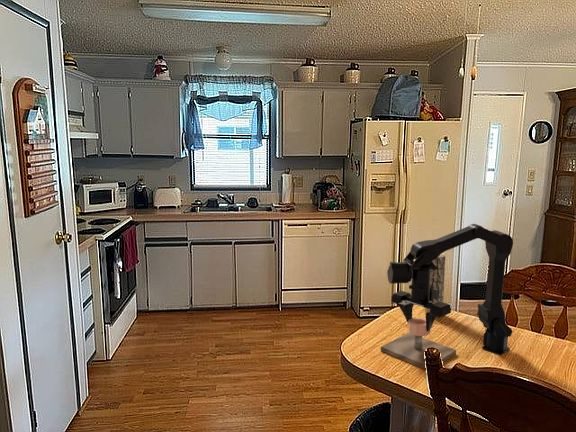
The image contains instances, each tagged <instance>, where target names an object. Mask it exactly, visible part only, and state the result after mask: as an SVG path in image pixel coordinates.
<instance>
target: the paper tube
mask: <svg viewBox="0 0 576 432" xmlns="http://www.w3.org/2000/svg"><path fill="white" fill-rule="evenodd" d="M432 262H433V263H434V265H435V266H436V267H437V268H438V269H431V274H430V285H432V286H433V289H435V290H439V291H440V293H439V298H438V300H436V299H434V300H433V301H429V303H433V304H435V303H437V302H443V303H444V297H445V296H444V295H445V277H446V273H445V272H446V253H444V252H443V253H442V254H441V255H440V256H439V257H438V258H436V259H435V260H433V261H432ZM429 311H430V310H429V309H428V308H425V307H424V314H426V313H428V312H429ZM436 318H439V317H438V316H437V317H436Z"/></svg>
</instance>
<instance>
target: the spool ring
mask: <svg viewBox="0 0 576 432" xmlns="http://www.w3.org/2000/svg"><path fill="white" fill-rule="evenodd" d="M407 325H408V327H407V328H408V329H407V331H408V333H410V334H413V335H416V336H422V337H425V336H426V337H427V336H428V335H430V333H431V330H430V331H429V332H427V329H426V318H424V317H412V318H411V319H409V321H408V322H407Z"/></svg>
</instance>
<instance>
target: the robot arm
mask: <svg viewBox="0 0 576 432" xmlns="http://www.w3.org/2000/svg"><path fill="white" fill-rule="evenodd" d="M476 239H479V240H482V241H484V242H485V243H484V245H485V250H486V253H487V256H488V267H487V279H486V291H485V300H484V301H483V303H482V304H481V303H478V305H477V309H478V310H477V313H476V316H478V320H479V321H480V322H481V323H482V326H483V327H484V328H486V329H485V330H484V333H483V336H482V337H483V338H482V347H481V349H483V350H486V351H488V352H490V353H494V354H497V355H499V356H503V354H505V353H506V352H508V351H510V347H508V344H509V343H508V341H509V337H512V334H513V329H511V327H509V326H508V325H507V324H506V312H505V310H504V307H503V304H502V302H503V292H504V289H503V288H504V279H505V269H506V261H507V259H508V258H509V257H510V255H511V253H512V250H513V245H514V239H513V238H512V236H510V235H509V234H508V233H505V232H502V231H499V230H489V229H487V228H485V227H483V226H482V225H479V224H476V223H471V224H469V225H468V226H465V227H464V228H460V229H458V230H456V231H453V232H451V233H449V234H446V235H444V236H441V237H438V238H436V239H429V240H428V239H427V240H422V241H418V242H417V241H416V242H415V243H412V245H411V247H410V250H409V252H408V253H407V255H406V256H405V258H403V261H401V262H399V261H397V262H396V261H389V266H388V269H387V272H386V275H387V282H388V283H389V284H391V285H392V284H409V283H411V284H410V285H408V289H409V290H411V291H410V292H407V291H404V290H398V291H396V292H394V293H392V295H391V297H390V298H391V299H390V300H391V301H390V302H391V303H393V304H397V307H399V309H400V310H401V312H402V314H403V316H404V317H405V320H406V323H408V321H409V319H411V318H413V308H414V306H415V305H416V306H418V307H421V308H424V309H425V308H428V309H429V310H430V311H429V312H428V313H425V319H426V329H427V332H429V331H430V332H431V329H432V327H433V325H434V322H435V321H436V318H443V317H445V316H447V315H449V314H451V313H452V307H451V305H450V304H448V303H447V302H444V301H443V302H437V303H435V304H433V303H429V301H433V300H434V299H436V300H438V298H439V293H440V291H439V290H435V289H433V286H432V285H430V274H431V269H438V268H437V267H436V266H435V265H434V263H433V262H432V261H433V260H435V259H436V258H438V257H439V256H440V255H441V254H442V253H444V252H447V251H451V250H452V249H454V248H456V247H457V248H458V247H459V246H462V245H465V244H466V243H469V242H472V241H475V240H476ZM437 316H438V317H437Z"/></svg>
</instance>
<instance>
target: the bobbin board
mask: <svg viewBox="0 0 576 432" xmlns="http://www.w3.org/2000/svg"><path fill="white" fill-rule="evenodd" d="M429 347H434V348H437V349H438V350H439V351H440V353H441V358H442V361H443V363H444V362H447V361H448V360H449V359H451V358H452V357H454V356H456V355H457V349H454V348H452V347H449V346H447V345H443V344H440V343H438V342H435V341H433V340H430V339H427V338H424V337H423V336H416V335H413V334H410V333H409V332H407V333H406V334H403V335H400V336H398V337H397V338H395V339H393V340H391V341H389V342H387V343H385V344H383V345H381V346H380V352H382V353H385V354H387V355H389V356H392V357H395V358H397V359H400V360H401V361H404V362H406V363H409V364H411V365H413V366H416V367H419V368H420V369H423V370H426V368H425V359H424V352H425V350H426V349H427V348H429ZM426 371H427V370H426Z"/></svg>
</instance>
